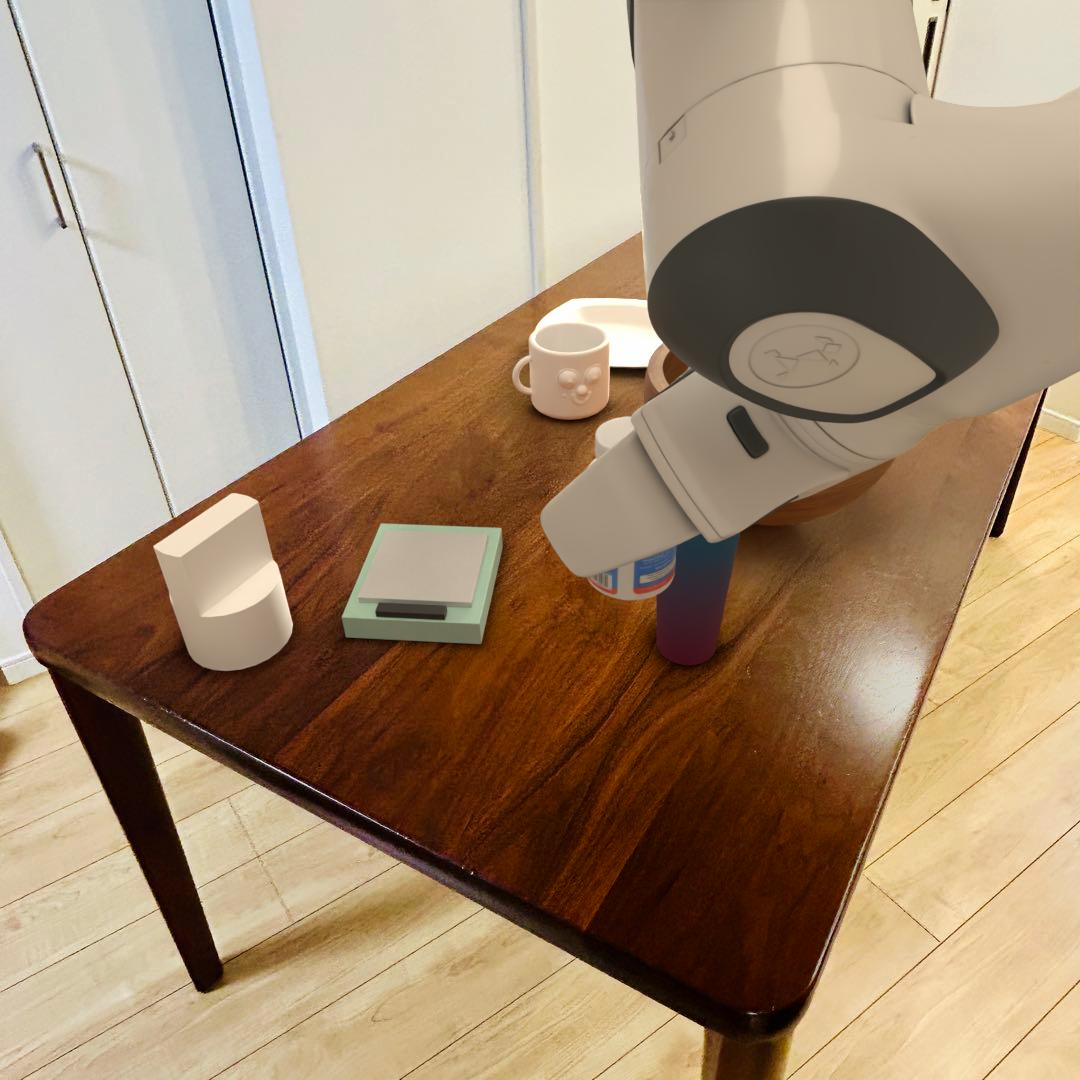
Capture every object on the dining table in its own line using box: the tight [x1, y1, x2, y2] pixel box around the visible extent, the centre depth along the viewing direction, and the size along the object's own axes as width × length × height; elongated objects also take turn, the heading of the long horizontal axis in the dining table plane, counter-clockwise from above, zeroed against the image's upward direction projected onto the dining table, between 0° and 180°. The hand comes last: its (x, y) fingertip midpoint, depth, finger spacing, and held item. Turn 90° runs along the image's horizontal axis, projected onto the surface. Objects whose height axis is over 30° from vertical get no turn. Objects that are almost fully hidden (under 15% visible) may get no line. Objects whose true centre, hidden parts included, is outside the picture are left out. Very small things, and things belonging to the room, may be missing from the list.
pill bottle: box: [586, 416, 677, 601], centre depth 52 cm, size 6×5×10 cm
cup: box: [655, 532, 741, 666], centre depth 72 cm, size 7×7×15 cm
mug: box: [511, 322, 611, 421], centre depth 109 cm, size 12×10×9 cm
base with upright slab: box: [153, 492, 294, 672], centre depth 76 cm, size 9×9×12 cm
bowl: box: [643, 343, 897, 526], centre depth 89 cm, size 25×25×15 cm
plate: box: [534, 297, 663, 369], centre depth 126 cm, size 23×23×2 cm
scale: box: [341, 522, 504, 645], centre depth 83 cm, size 14×12×3 cm
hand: (621, 497), depth 52 cm, fingers closed on pill bottle, 5 cm apart
